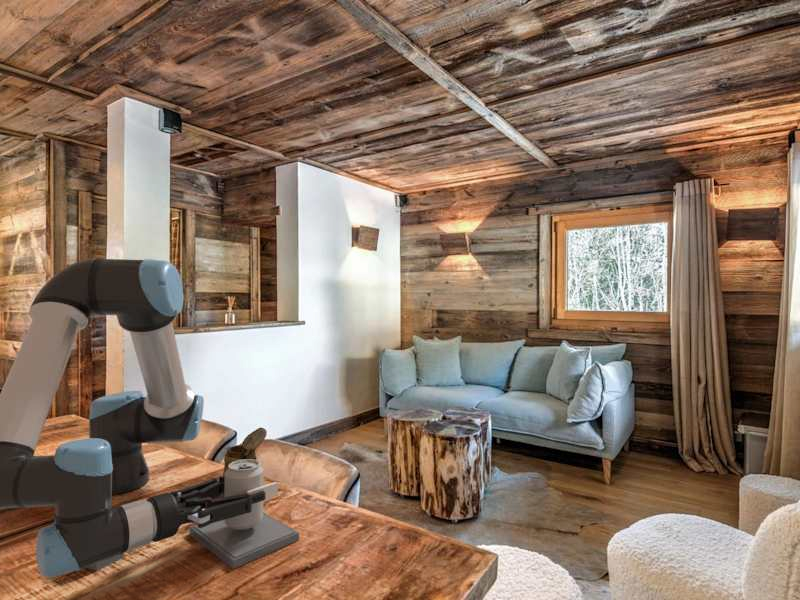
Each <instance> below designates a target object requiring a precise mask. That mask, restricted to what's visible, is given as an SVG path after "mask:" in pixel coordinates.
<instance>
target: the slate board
mask: <svg viewBox="0 0 800 600" xmlns="http://www.w3.org/2000/svg"><path fill="white" fill-rule="evenodd" d="M189 535H190V536H192V538H194V539H195V540H196V541H197V542H199V543H200V544H201V545H202V546H204V547H205V548H206V549H207V550H209V551H210V552H211V553H212V554H214V555H215V556H216V557H217V558H219V559H220V560H222V561H223V562H224V563H225V564H226V565H228V566H229V567H231V569H233V570H235V569H237V568H239V567H241V566H243V565H246V564H248V563H251V562H253V561H255V560H257V559H259V558H262V557H265V556H267V555H268V554H270V553H273V552H276V551H278V550H280V549H282V548H284V547H287V546H289V545H291V544H293V543H295V542H298V541H300V532H299V531H297V530H295V529H293V528H292V527H290V526H289V525H286V524H285V523H283V522H282V521H280V520H279V519H276V518H275V517H273V516H271V515H269V513H266V512H264V511H263V518H262V520H261V521H259V522H258V524H257V525H255V526H253V527H251V528H248V529H242V530H236V529H232V528H230V527H229V526H228V525H226V524H225V522H224V520H222V521H218V522H215V523H211V524H209V525H207V526H205V527H203V528H198V523H197V524H194V525H192V526H189Z"/></svg>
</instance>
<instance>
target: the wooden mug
mask: <svg viewBox="0 0 800 600" xmlns="http://www.w3.org/2000/svg"><path fill="white" fill-rule="evenodd" d="M267 433H268V432H267V429H266V428H264V427H259V428H256V429H255V430H253V431H252V432H250V433H249V434H248V435H247V436H246V437H244V440H243V441H242V444H239V445H237V444H236V445H233V446H229V447H227V449H226V454H224V458H223V462H224V467H223V473H222V476H224V477H225V472H226V471H227V470H228V469H229V468H228V465H229V464H230V463H232V462H234V461H238V460H244V459H253V460H257V461H258V459H257V454H256V450H257V448H258V447H259V446H260V445H262V444H263V442H264V441H265V439H266V437H267ZM224 496H225V492H224V493H223V494H221V495H219V496H218V498H223V497H224Z"/></svg>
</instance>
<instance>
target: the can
mask: <svg viewBox="0 0 800 600" xmlns="http://www.w3.org/2000/svg"><path fill="white" fill-rule="evenodd" d="M228 468H229V469H228V470H227V471H226V472H225V496H224V497H229V496H235V495H242V494H246V491H249V490H252V489H255V488H258V487H261V486H264V468H263V467H262V466H261V462H260V461H259V460H258V459H257V460H253V459H244V460H238V461H234V462H232V463H230V464H229V465H228ZM263 512H264V501H262V502H259V503H256V504H253V505H252V511H251V512H250V513H246V514H243V515H239V516H236V517H232V518H229V519H225V520H224V522H225V524H226V525H228V526H229V527H230V528H232V529H236V530H242V529H248V528H251V527H253V526H255V525H257V524H258V522H259V521H261V520H262V518H263Z"/></svg>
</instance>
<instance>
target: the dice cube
mask: <svg viewBox="0 0 800 600" xmlns="http://www.w3.org/2000/svg"><path fill="white" fill-rule="evenodd" d="M124 554H125V553H123V554H119V555H116V556H113V557H111V558H108V559H105V560H103V561H100V562H97V563H94V564H92V565H89V566H86V567H85V568H87V569H89V570H92V571H93V572H99V571H100V570H103V569H104V568H106V567H108V566H110V565H113V564H114V563H115V562H117V561H119V560H121V559H124V557H125V556H124ZM102 568H103V569H102Z"/></svg>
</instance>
